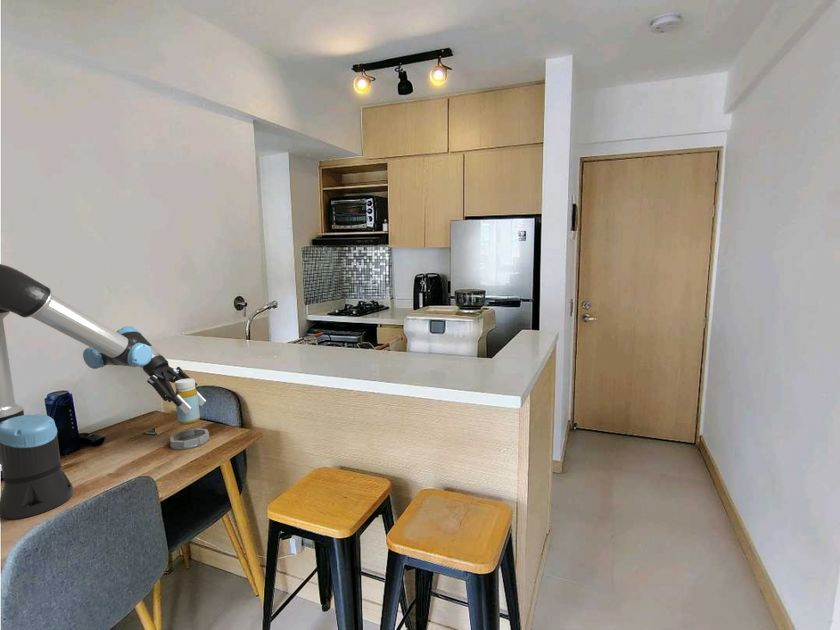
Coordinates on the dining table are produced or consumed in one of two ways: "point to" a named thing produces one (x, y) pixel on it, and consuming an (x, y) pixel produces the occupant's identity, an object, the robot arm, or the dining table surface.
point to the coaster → (189, 439)
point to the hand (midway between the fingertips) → (196, 407)
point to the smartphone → (150, 432)
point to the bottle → (187, 401)
